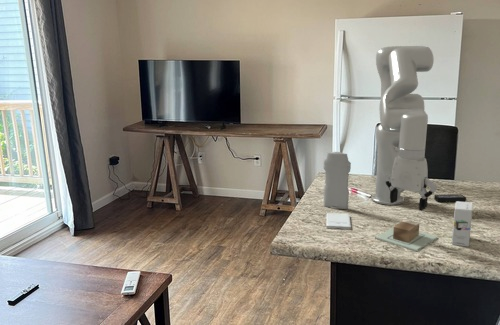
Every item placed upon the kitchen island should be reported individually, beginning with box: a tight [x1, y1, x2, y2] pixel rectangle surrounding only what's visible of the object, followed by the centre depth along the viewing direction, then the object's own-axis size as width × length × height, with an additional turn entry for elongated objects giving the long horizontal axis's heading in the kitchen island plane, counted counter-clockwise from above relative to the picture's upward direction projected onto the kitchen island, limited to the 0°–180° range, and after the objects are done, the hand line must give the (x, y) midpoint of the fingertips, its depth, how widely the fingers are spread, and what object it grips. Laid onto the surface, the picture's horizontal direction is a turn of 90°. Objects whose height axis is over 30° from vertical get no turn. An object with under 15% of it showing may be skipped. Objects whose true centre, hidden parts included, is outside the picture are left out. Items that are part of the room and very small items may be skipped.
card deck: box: [393, 218, 420, 243], centre depth 142 cm, size 5×8×4 cm, turn 138°
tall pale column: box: [323, 151, 352, 210], centre depth 171 cm, size 11×4×22 cm, turn 61°
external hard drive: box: [325, 212, 352, 230], centre depth 158 cm, size 2×8×12 cm
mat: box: [374, 226, 438, 252], centre depth 143 cm, size 14×14×1 cm
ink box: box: [451, 201, 473, 247], centre depth 139 cm, size 8×5×12 cm, turn 154°
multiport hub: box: [433, 193, 467, 204], centre depth 178 cm, size 4×11×2 cm, turn 90°
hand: (407, 205), depth 142 cm, fingers open, 9 cm apart
